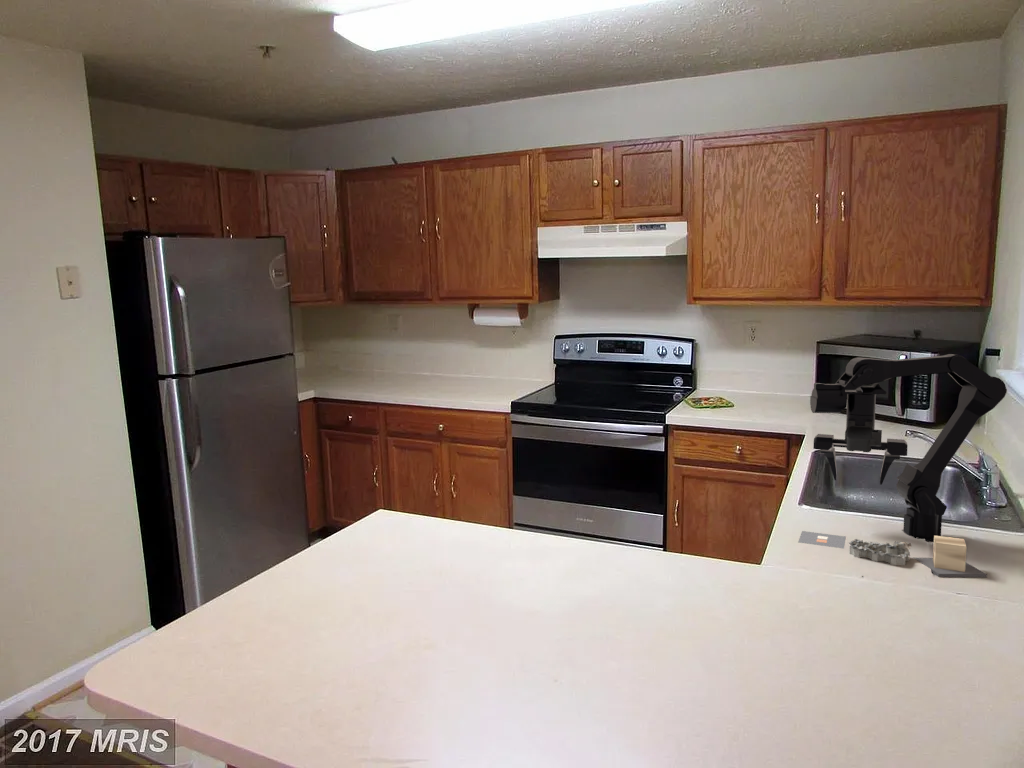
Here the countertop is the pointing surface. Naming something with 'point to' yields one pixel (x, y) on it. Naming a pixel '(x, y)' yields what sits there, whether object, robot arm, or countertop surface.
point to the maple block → (949, 553)
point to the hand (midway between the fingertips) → (857, 482)
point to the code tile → (822, 539)
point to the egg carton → (881, 551)
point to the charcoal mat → (939, 572)
